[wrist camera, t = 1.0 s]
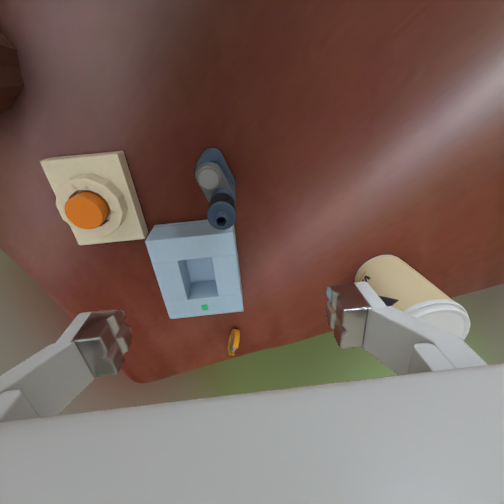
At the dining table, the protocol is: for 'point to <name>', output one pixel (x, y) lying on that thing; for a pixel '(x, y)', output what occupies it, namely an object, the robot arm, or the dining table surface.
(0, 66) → the muffin
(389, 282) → the coffee cup
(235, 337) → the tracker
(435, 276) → the dining table surface
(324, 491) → the robot arm
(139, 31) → the dining table surface
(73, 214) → the orange button
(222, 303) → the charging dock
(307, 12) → the dining table surface
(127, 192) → the button box
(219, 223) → the vaping device
